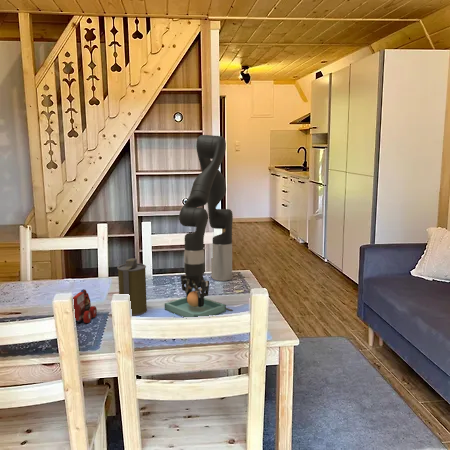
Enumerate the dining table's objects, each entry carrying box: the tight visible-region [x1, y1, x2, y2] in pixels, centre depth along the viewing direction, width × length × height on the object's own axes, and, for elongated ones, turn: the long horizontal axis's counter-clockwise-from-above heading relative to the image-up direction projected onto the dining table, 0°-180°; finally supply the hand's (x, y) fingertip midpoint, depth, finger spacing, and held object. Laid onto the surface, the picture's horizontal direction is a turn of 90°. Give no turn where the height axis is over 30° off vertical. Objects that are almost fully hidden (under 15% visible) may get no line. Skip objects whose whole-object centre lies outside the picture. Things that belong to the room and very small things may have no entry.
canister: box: [116, 257, 148, 317], centre depth 164 cm, size 11×10×20 cm
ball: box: [187, 290, 201, 307], centre depth 166 cm, size 6×6×6 cm
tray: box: [164, 296, 227, 318], centre depth 166 cm, size 18×15×2 cm
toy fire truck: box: [72, 289, 98, 324], centre depth 157 cm, size 7×12×10 cm, turn 175°
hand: (195, 304), depth 166 cm, fingers closed on ball, 6 cm apart
